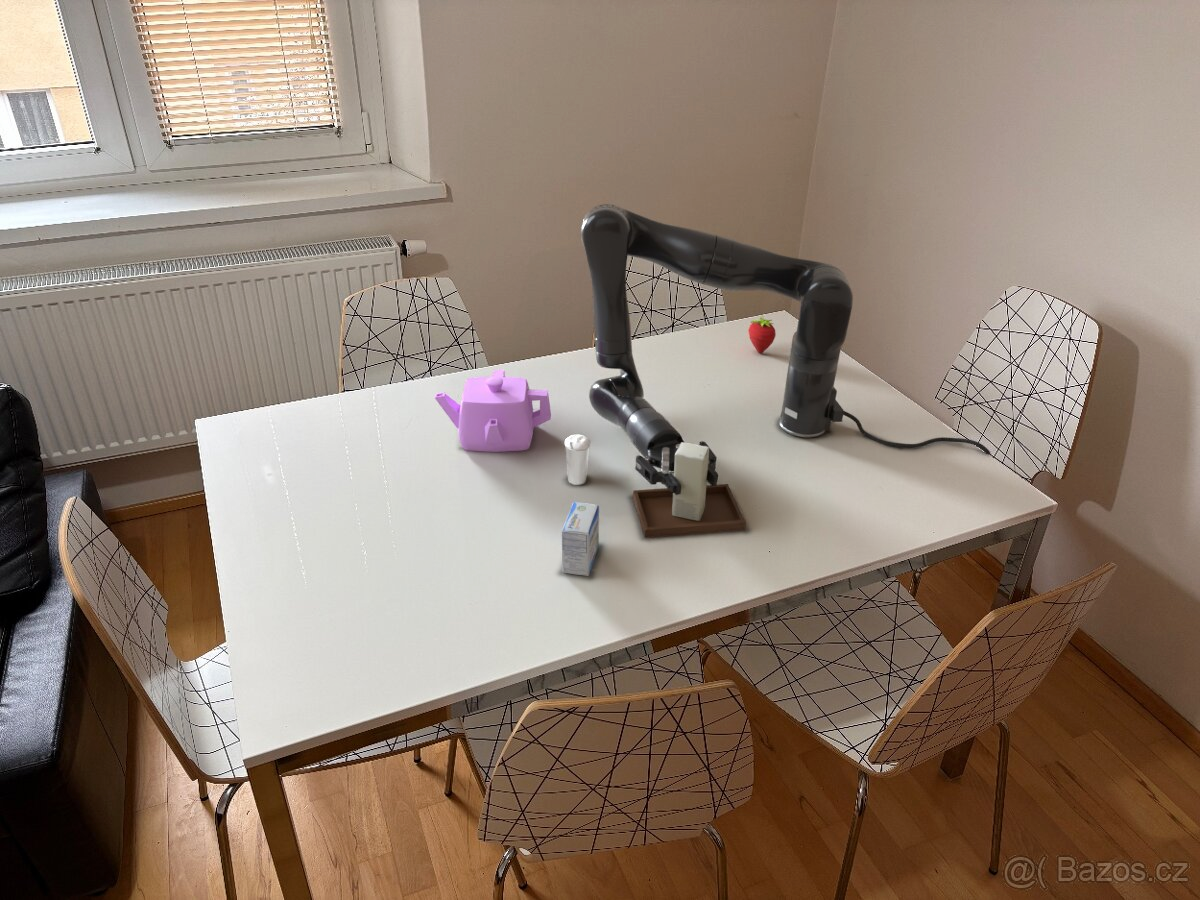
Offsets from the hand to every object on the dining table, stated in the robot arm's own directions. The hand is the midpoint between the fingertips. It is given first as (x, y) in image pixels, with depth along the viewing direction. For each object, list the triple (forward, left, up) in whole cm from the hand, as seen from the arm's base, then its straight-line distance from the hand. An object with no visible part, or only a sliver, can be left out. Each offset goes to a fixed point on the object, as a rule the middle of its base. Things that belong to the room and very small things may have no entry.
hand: (697, 485), depth 147 cm
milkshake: (+19, -14, -8) cm, 25 cm away
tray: (+1, -2, -7) cm, 8 cm away
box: (+1, -2, -7) cm, 8 cm away
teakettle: (+33, -31, -8) cm, 46 cm away
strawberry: (-30, -61, -8) cm, 69 cm away
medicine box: (+21, +8, -8) cm, 23 cm away
